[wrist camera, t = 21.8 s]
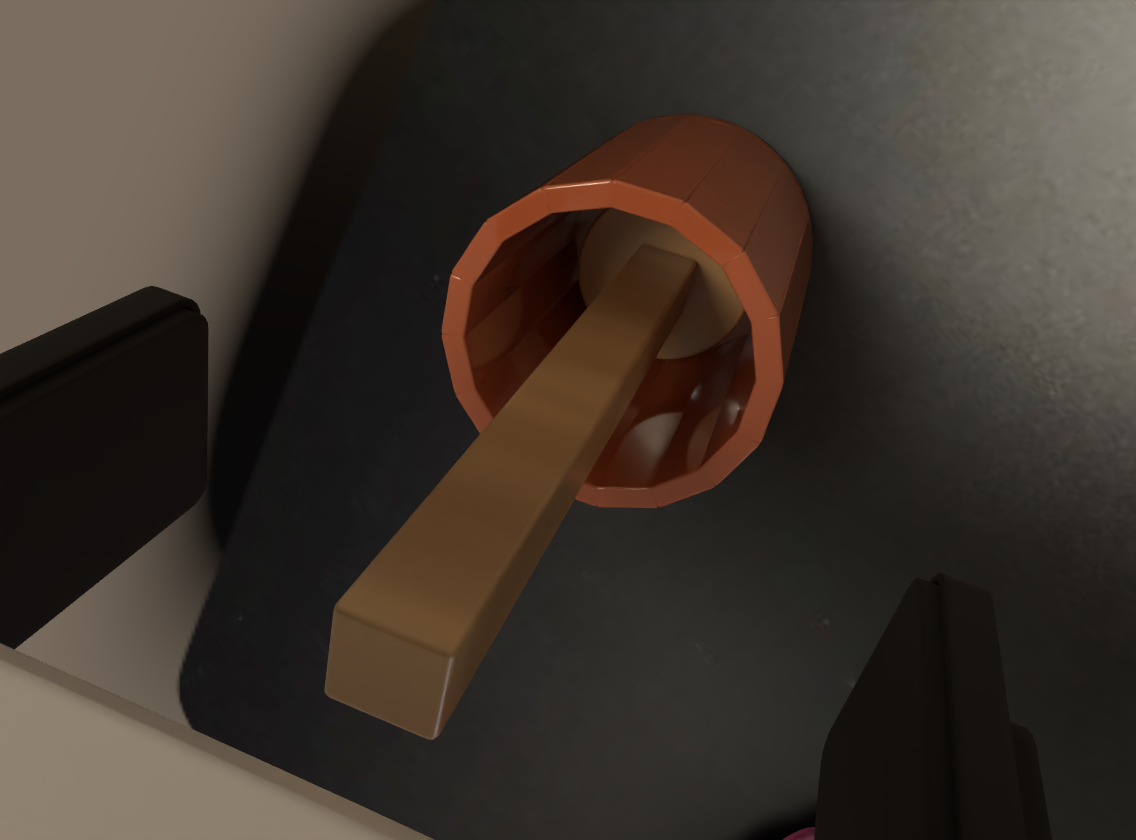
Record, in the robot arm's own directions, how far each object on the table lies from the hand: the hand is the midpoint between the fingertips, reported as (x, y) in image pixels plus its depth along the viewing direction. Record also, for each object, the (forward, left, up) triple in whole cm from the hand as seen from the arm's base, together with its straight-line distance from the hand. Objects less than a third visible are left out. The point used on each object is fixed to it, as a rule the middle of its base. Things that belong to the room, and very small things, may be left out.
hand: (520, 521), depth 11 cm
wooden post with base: (+1, -1, -14) cm, 14 cm away
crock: (+1, -1, -14) cm, 14 cm away
